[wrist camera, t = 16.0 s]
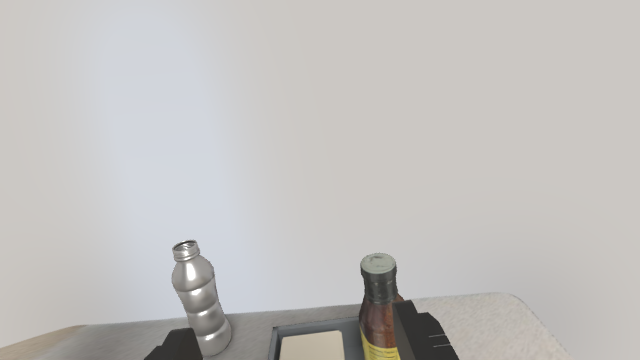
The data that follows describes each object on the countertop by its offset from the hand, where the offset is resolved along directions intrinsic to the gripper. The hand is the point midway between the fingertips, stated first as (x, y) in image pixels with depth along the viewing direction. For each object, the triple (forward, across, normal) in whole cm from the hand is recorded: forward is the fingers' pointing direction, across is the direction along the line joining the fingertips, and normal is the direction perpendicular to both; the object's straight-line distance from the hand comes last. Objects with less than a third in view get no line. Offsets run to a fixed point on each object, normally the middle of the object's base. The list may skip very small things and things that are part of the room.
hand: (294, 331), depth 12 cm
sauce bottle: (+20, -7, +31) cm, 37 cm away
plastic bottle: (+33, +21, +32) cm, 50 cm away
